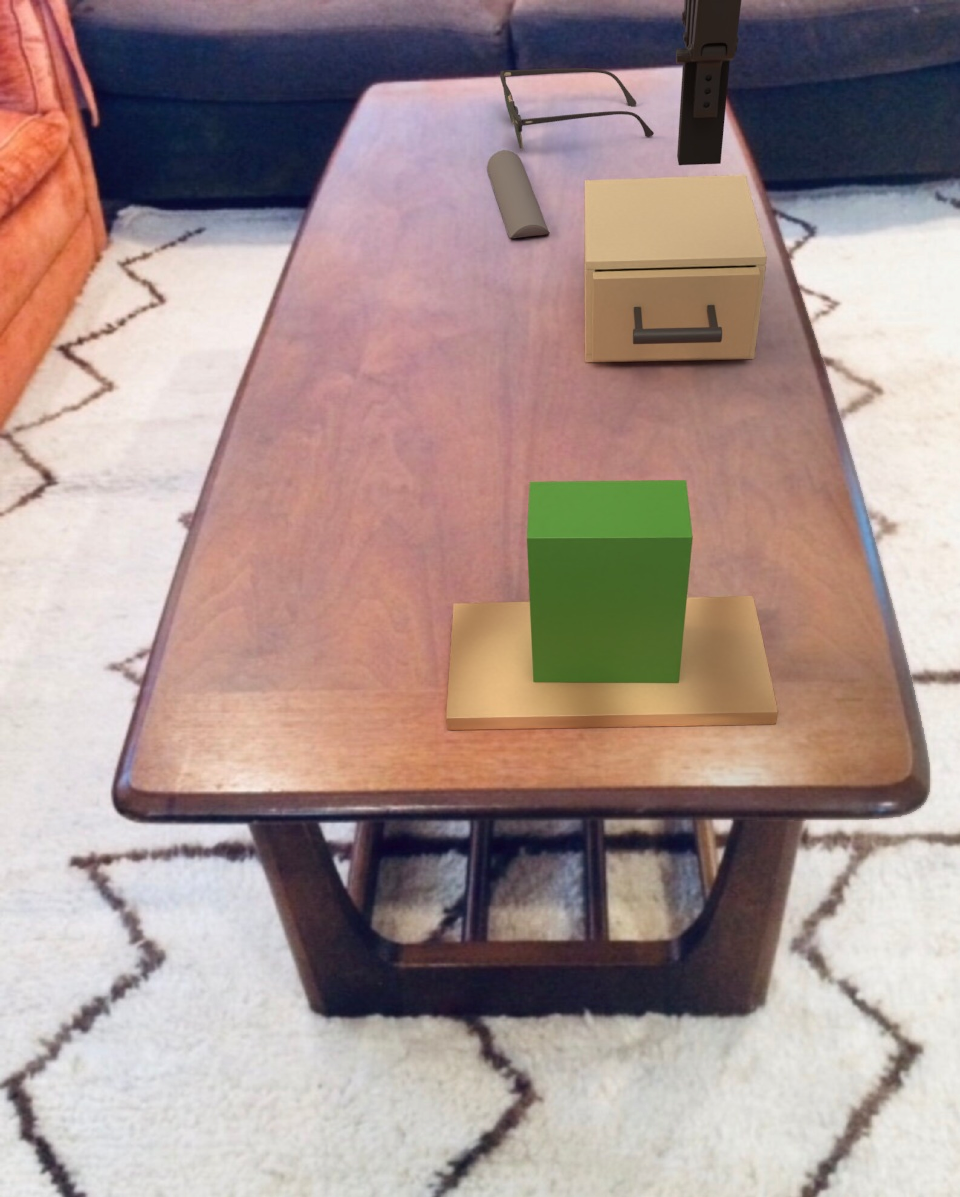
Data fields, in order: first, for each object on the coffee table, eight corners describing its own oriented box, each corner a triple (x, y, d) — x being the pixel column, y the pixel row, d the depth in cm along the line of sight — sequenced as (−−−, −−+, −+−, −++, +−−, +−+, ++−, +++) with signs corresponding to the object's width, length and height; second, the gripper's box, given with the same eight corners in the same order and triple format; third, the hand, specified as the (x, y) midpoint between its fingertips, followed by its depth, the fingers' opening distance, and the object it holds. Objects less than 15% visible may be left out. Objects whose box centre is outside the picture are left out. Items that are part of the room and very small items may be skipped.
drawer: (756, 389, 90) (767, 304, 85) (592, 392, 91) (593, 308, 86) (732, 274, 104) (741, 195, 99) (590, 278, 105) (591, 200, 100)
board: (751, 608, 74) (753, 595, 73) (775, 724, 66) (778, 711, 66) (454, 615, 75) (453, 603, 74) (447, 730, 68) (445, 718, 67)
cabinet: (754, 359, 95) (767, 256, 88) (585, 362, 96) (585, 261, 90) (735, 271, 106) (746, 174, 99) (584, 275, 107) (584, 179, 101)
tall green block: (678, 683, 68) (692, 537, 59) (533, 682, 69) (526, 538, 60) (673, 625, 71) (686, 479, 63) (535, 625, 72) (529, 481, 64)
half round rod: (510, 243, 113) (509, 227, 112) (486, 167, 127) (485, 152, 126) (551, 239, 113) (551, 222, 112) (522, 163, 127) (521, 147, 126)
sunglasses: (659, 147, 128) (661, 103, 125) (516, 162, 128) (514, 118, 124) (631, 96, 140) (632, 54, 136) (499, 110, 139) (497, 69, 136)
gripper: (652, -310, 61) (637, 123, 77) (666, -280, 51) (645, 205, 68) (791, -321, 60) (745, 119, 76) (830, -292, 51) (769, 201, 67)
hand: (698, 159), depth 72 cm, fingers closed
